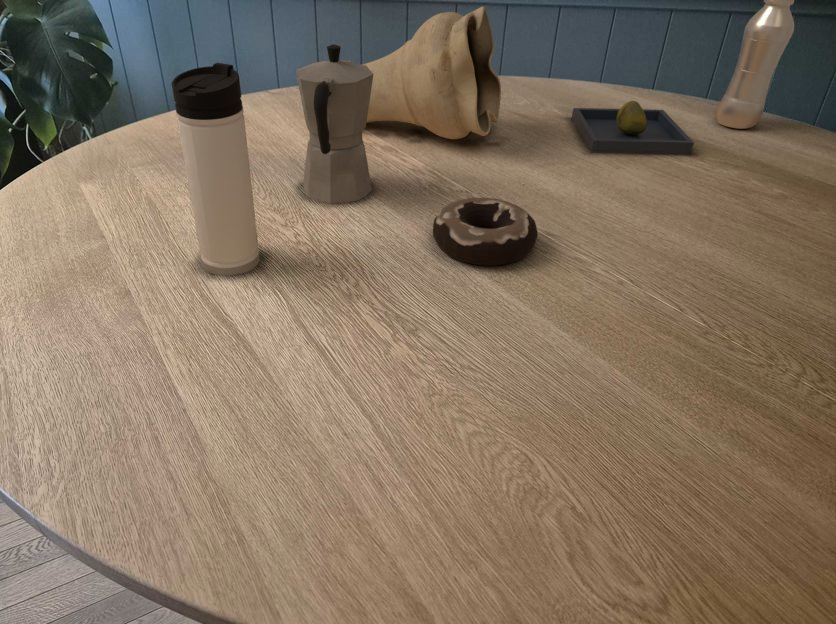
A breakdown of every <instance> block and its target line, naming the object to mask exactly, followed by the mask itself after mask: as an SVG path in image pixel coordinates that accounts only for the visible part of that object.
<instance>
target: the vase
mask: <svg viewBox="0 0 836 624" xmlns="http://www.w3.org/2000/svg"><path fill="white" fill-rule="evenodd" d="M494 51H495V40H494V36H493V31H492V26H491V22H490V19H489V15H488V11H487V9H486V7H485V6H479V7H478V8H476V9H474V10H473V11H471V12H468V13H466V14H465V15H462V14H460V13H458V12H456V11H455V12H454V11H446V12H440V13H437V14H435V15H433V16H431V17H429V18H428V19H427V20H425V22H424V23H423V24H422V25H421V26H419V28H418V29H417V30H416V31H415V33H414V34H413V36H412V38H411V39H408V40H407V41H406V42H405V43H404V44H403V45H402V46H401V47H400V48H398V49H396V50H395V51H393V52H391V53H389V54H387V55H385V56H383V57H381V58H378V59H375V60H372V61H369V62H367V63H366V62H365V63H363V64H362V65H365V66H367V67H368V68H369V69H370V70H371V72H372V73H373V74H374V76H373V82H372V88H371V95H370V102H369V109H368V115H367V122H366V123H372V122H401V123H409V124H412V125H416V126H418V127H423V128H425V129H426V130H427V131H429V132H430V133H432V134H434V135H436V136H438V137H440V138H444V139H449V140H460V139H463V138H465V137H467V136H468V135H469V134H470V132H472V133H474V134H476V135H479V136H482V137H485V136H487V135H488V134H490V132H491V127H492V123H497V122H498V121H499V116H500V108H501V97H502V84H501V79H500V77H499V75H498V74H497V72H496V71H495V70H494V69H493V67H492V59H493V56H494Z"/></svg>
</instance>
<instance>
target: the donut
mask: <svg viewBox="0 0 836 624" xmlns="http://www.w3.org/2000/svg"><path fill="white" fill-rule="evenodd" d="M432 236H433V238H434V240H435V242H436V244H437V246H438V247H439V249H441V250H442V252H444V253H445V254H447V255H448V256H449V257H451V258H454V259H455V260H457V261H460V262H463V263H467V264H471V265H478V266H485V267H487V266H501V265H502V266H503V265H507V264H512V263H514V262H516V261H519V260H521V259H523V258H524V257H525V256H527V255H528V254H529V253H530V252H532V250H533V248H534V246H535V244H536V241H537V239H538V228H537V224H536V221H535V219H534V218H533V217H532V216H531V214H530V213H529V212H528V211H527V210H526V209H524V208H522V207H521V206H520V205H517V204H515V203H513V202H509V201H508V200H503V199H500V198H499V199H498V198H495V197H494V198H493V197H468V198H463V199H459V200H456V201H453V202H451V203H449V204H447V205H445V206H444V207H443V208H442V209H440V210H439V212H438V213H437V215H436V216H435V218H434V219H433V223H432Z"/></svg>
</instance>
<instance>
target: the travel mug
mask: <svg viewBox="0 0 836 624" xmlns="http://www.w3.org/2000/svg"><path fill="white" fill-rule="evenodd" d="M240 81H241V80H240V75H239V73H238V71H237V70H235V69H234V65H233V64H229V63H222V62H215V63H213V64H212V66H211V65H209V66H208V65H207V66H200V67H196V68H192V69H188V70H186V71H184V72H181V73H180V74H177V76H175V77H174V78H173V79H172V81H171V88H172V96H173V101H174V102H175V103H174V104H175V105H174V107H175V116H176V118H177V120H176V122H177V127H178V132H179V138H180V144H181V150H182V156H183V162H184V167H185V169H184V170H185V173H186V181H187V187H188V191H189V196H190V203H191V209H192V214H193V220H194V227H195V231H196V232H195V233H196V237H197V242H198V243H197V244H198V249H199V255H200V260H201V266H202V268H203V269H204V270H205V271H206V272H207V273H209V274H211V275H214V276H221V277H229V276H230V277H231V276H237V275H238V276H239V275H242V274H245V273H247V272H250V271H252V270H253V269H255V268H256V267H257V266H258V265H259V263H260V259H261V258H260V250H259V249H260V248H259V241H258V240H259V239H258V231H257V221H256V212H255V204H254V196H253V195H254V194H253V185H252V177H251V175H252V174H251V166H250V157H249V147H248V142H247V141H248V140H247V131H246V120H245V114H244V106H243V101H242V100H243V99H242V90H241V82H240Z"/></svg>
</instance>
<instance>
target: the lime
mask: <svg viewBox="0 0 836 624" xmlns="http://www.w3.org/2000/svg"><path fill="white" fill-rule="evenodd" d="M619 109H620V110H619V112H618V115H617V126H618V128H619V129H620V130H621V131H622V132H625V133H628V134H631V135H638V134H640V133H642V132H644V130H645V129H646V126H647V119H646V116H645V113H644V111H643V107H642V106H641V104H640V103H639V102H638V101H636V100H629V101H627V102H625V103H624V104H623V106H621V107H620V108H619Z"/></svg>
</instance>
